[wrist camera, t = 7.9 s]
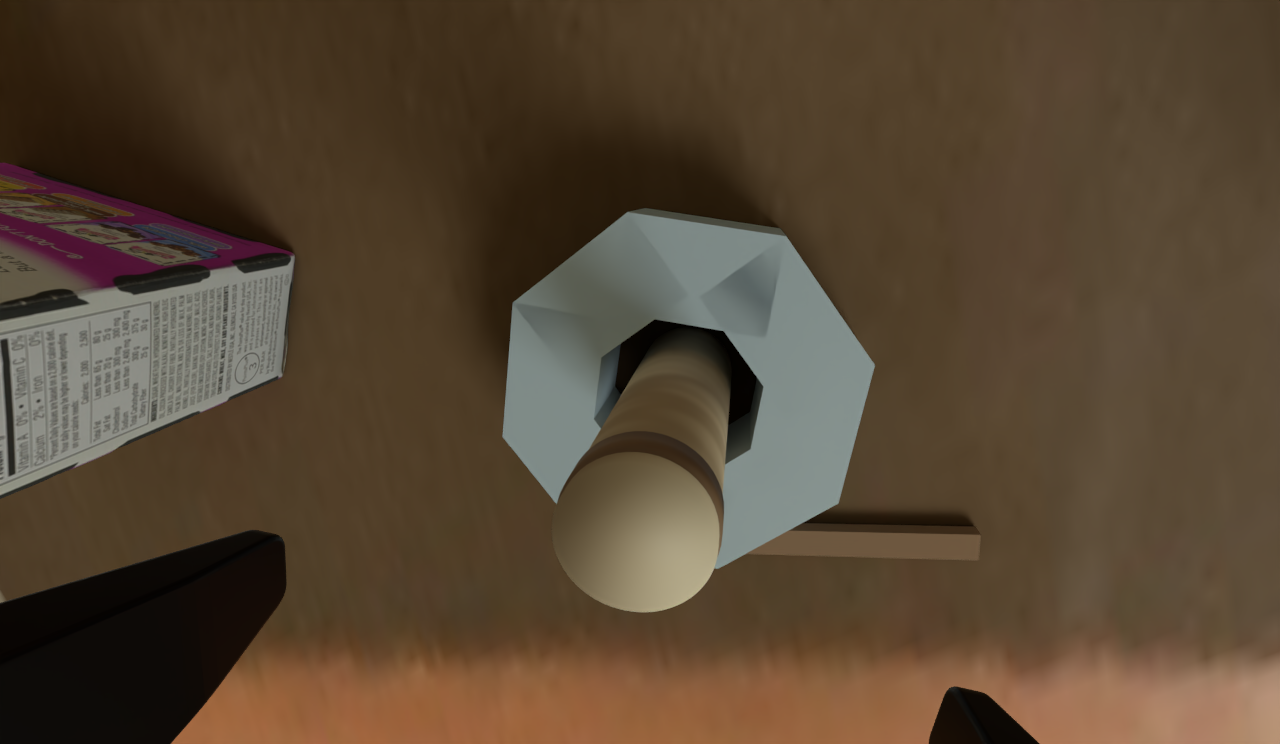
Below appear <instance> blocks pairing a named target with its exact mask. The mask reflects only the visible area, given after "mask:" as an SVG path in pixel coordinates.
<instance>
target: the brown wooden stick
mask: <svg viewBox="0 0 1280 744" xmlns="http://www.w3.org/2000/svg"><path fill="white" fill-rule="evenodd" d="M980 540H981V534H980V533H979V531H978V530H977V528H976V527H975V526H924V525H873V524H822V523H801V524H800V525H798V526H796V527H794V528H792V529H790V530H789V531H787V532H785V533H783V534H781V535H779V536H777V537H776V538H774V539H772V540H770V541H768V542H766V543H765V544H763V545H761V546H759V547H757V548H755V549H754V550H752V551H750V552H748V553H746V554H766V555H801V556H837V557H872V558H907V559H942V560H978V561H979V551H980Z"/></svg>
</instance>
